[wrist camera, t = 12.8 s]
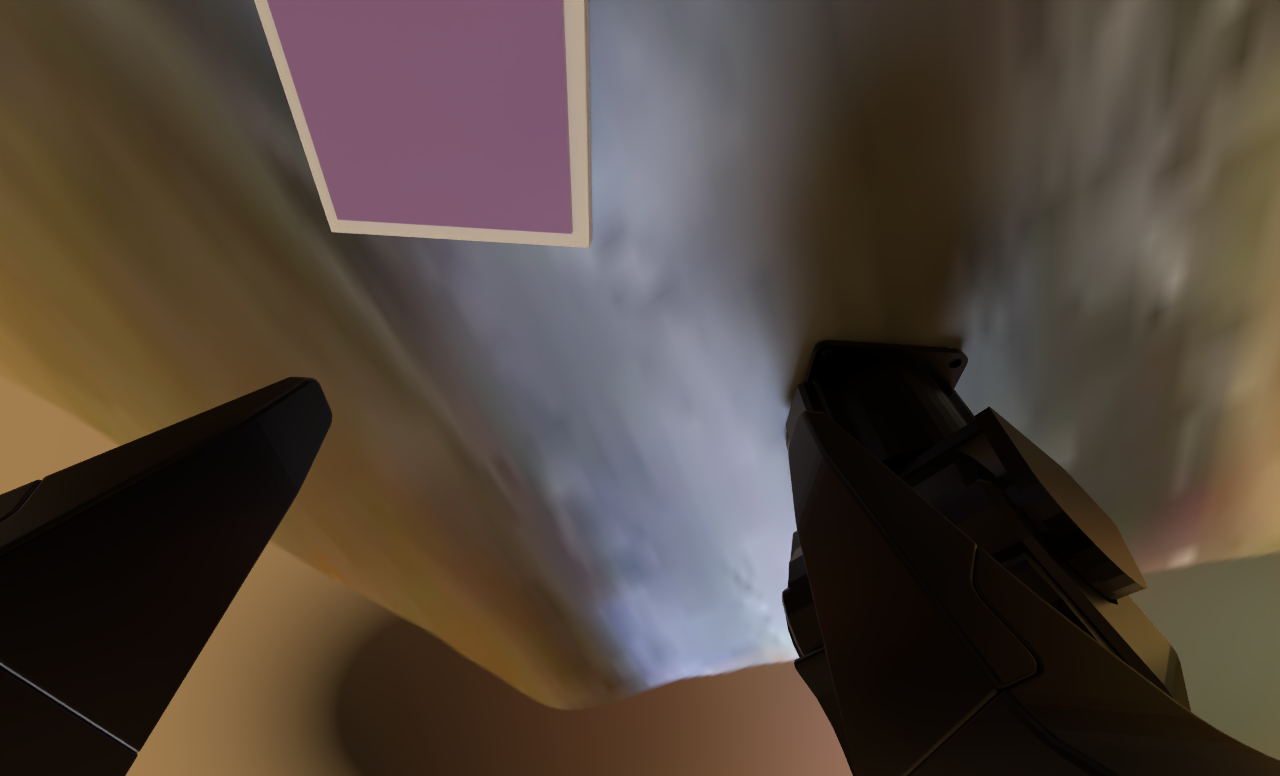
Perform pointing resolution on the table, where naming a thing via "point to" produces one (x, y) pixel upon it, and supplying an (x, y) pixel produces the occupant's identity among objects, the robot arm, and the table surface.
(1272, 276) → the table surface
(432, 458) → the table surface
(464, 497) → the table surface
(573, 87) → the ink pad
